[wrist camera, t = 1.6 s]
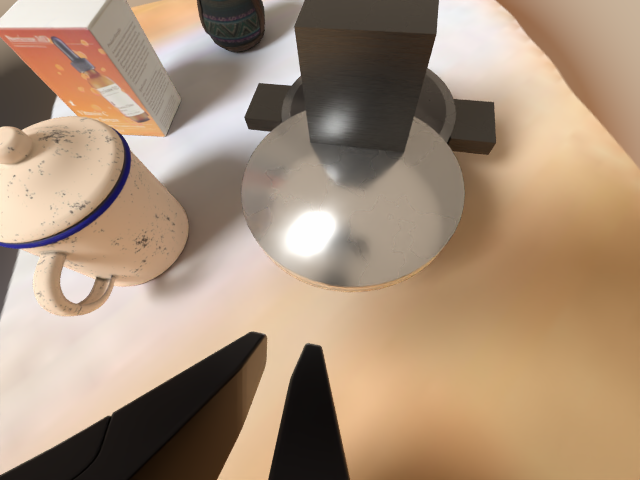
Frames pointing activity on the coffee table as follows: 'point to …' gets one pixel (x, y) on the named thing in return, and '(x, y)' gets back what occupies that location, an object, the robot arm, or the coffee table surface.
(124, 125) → the small box
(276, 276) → the coffee table surface
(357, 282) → the lid
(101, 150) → the teacup with lid
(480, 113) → the pot
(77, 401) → the coffee table surface
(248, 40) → the mate gourd
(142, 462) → the robot arm
